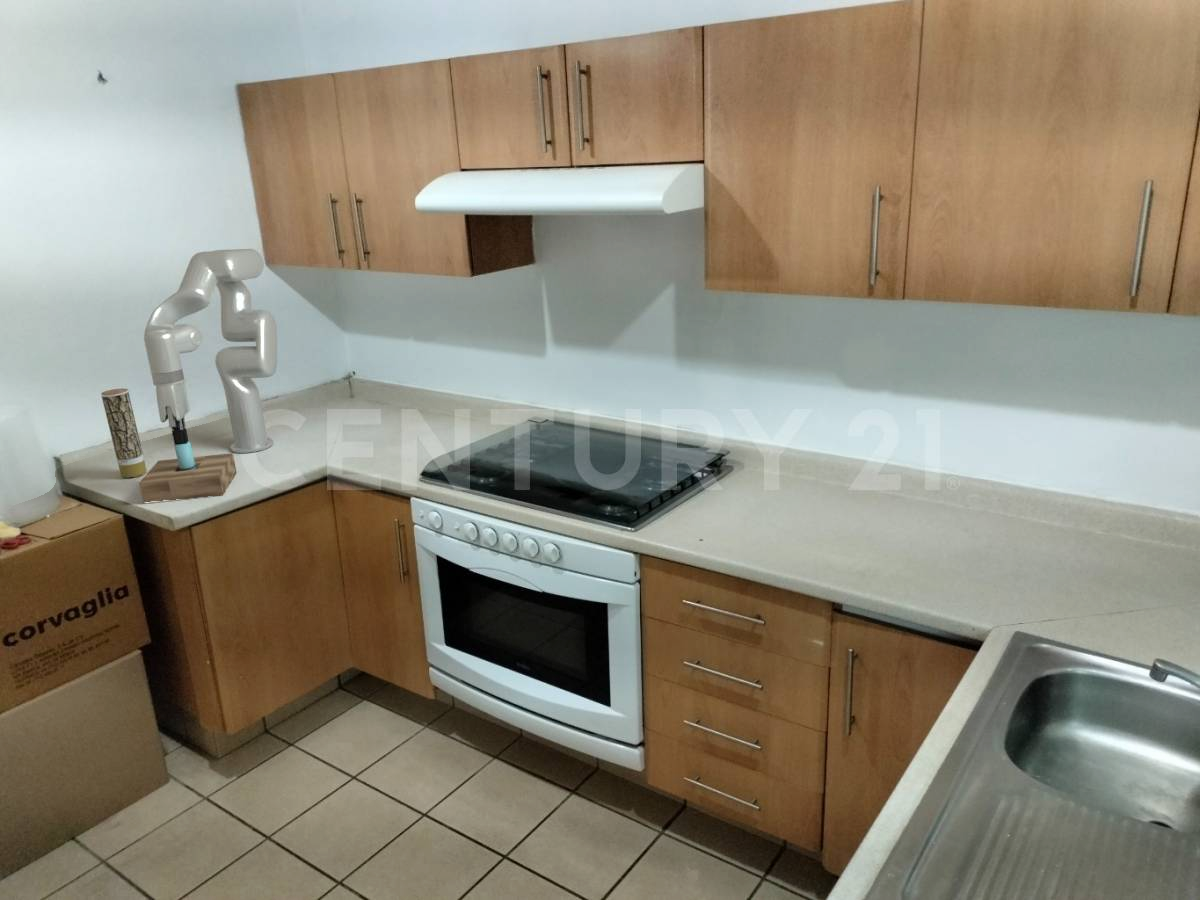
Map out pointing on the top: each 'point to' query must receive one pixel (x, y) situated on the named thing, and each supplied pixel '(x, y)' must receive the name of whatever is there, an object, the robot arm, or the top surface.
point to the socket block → (188, 478)
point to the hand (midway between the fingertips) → (181, 443)
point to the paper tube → (124, 432)
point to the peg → (185, 457)
